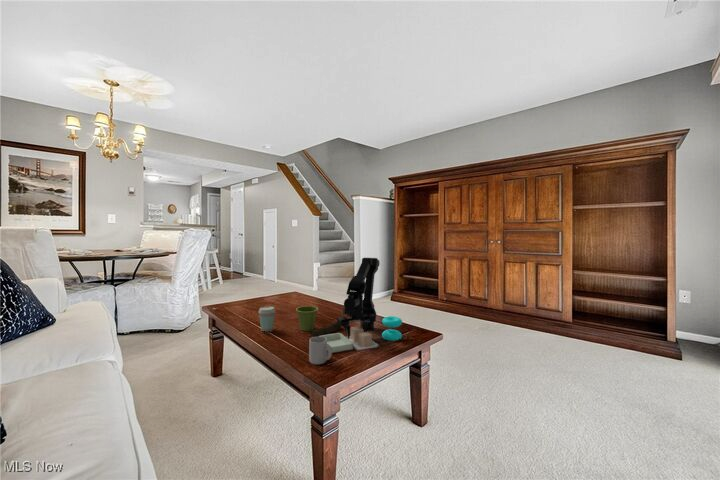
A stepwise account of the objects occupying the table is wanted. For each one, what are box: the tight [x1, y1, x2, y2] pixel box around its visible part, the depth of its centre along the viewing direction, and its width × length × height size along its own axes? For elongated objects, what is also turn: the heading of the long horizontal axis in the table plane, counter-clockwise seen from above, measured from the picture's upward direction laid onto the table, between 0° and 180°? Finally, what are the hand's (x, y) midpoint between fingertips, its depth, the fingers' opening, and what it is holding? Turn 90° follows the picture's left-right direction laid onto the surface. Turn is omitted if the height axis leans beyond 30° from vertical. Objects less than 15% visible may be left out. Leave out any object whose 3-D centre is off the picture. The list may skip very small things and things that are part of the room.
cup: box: [308, 336, 333, 365], centre depth 125 cm, size 7×10×9 cm
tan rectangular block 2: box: [358, 331, 373, 347], centre depth 141 cm, size 4×4×6 cm
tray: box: [345, 335, 380, 351], centre depth 146 cm, size 11×16×1 cm
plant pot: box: [295, 305, 319, 332], centre depth 165 cm, size 12×12×11 cm
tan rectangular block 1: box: [350, 326, 364, 342], centre depth 150 cm, size 4×4×6 cm
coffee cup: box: [258, 306, 276, 333], centre depth 162 cm, size 9×8×12 cm
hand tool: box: [311, 321, 342, 338], centre depth 159 cm, size 19×4×5 cm, turn 135°
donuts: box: [381, 316, 403, 341], centre depth 153 cm, size 10×10×10 cm
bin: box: [319, 332, 354, 354], centre depth 142 cm, size 11×16×3 cm
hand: (356, 336), depth 150 cm, fingers open, 8 cm apart
